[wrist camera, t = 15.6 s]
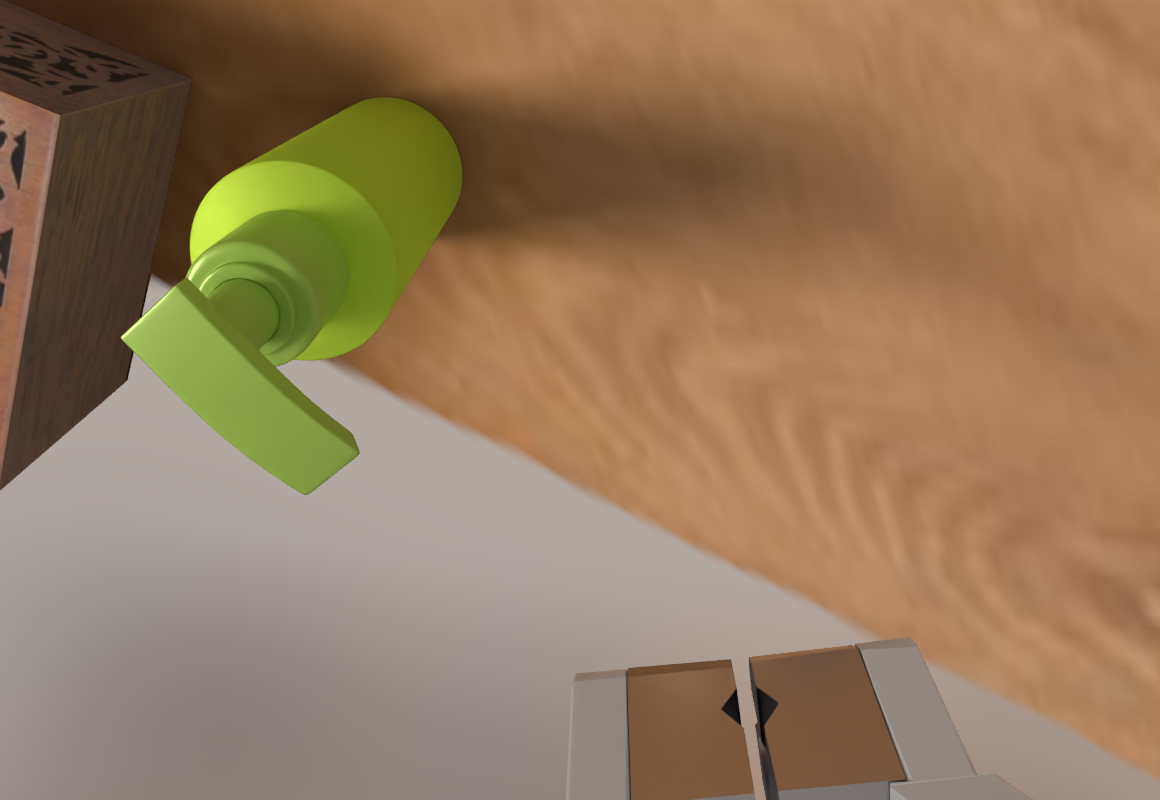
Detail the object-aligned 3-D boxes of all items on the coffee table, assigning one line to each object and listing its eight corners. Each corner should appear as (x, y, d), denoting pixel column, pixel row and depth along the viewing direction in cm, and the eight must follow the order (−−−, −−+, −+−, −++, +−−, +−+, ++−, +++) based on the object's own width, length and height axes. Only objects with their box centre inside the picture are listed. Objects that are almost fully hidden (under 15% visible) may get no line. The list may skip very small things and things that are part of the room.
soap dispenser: (408, 286, 40) (242, 553, 22) (290, 161, 38) (-2, 342, 20) (508, 200, 38) (420, 413, 20) (392, 65, 36) (174, 166, 18)
